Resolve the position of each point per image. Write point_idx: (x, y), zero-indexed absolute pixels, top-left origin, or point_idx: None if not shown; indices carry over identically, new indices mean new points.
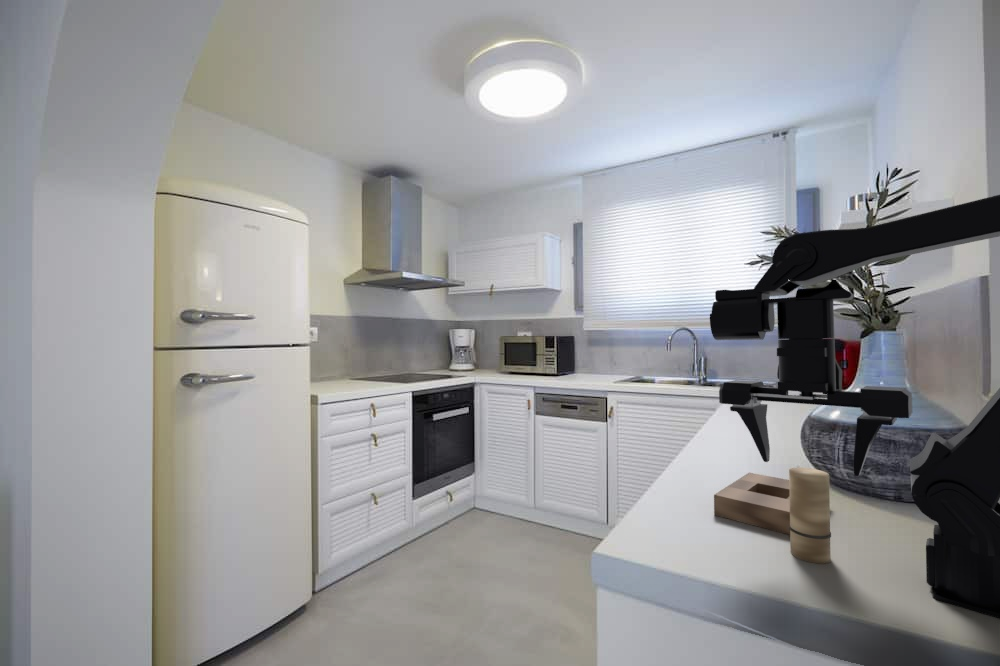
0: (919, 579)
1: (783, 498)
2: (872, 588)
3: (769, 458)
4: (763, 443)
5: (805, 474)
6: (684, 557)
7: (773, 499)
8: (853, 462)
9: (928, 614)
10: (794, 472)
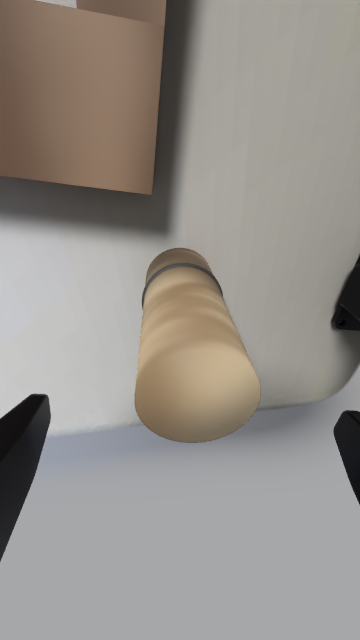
0: (338, 257)
1: (65, 6)
2: (260, 334)
3: (44, 399)
4: (13, 524)
5: (190, 429)
6: (20, 398)
7: (41, 60)
8: (354, 491)
9: (309, 361)
10: (156, 428)
